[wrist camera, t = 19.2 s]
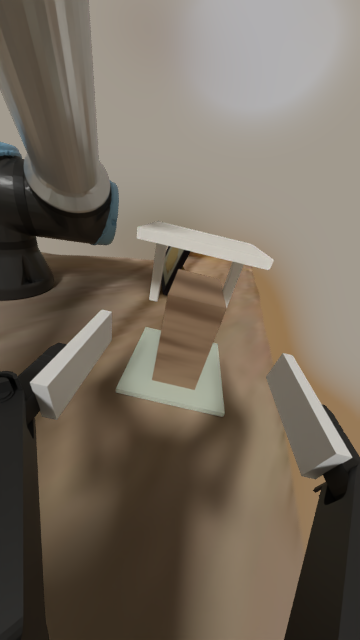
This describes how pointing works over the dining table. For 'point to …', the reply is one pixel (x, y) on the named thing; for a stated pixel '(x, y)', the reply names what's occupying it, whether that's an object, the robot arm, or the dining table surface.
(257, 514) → the dining table surface
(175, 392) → the mat
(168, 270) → the picture frame
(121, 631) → the dining table surface
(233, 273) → the small white table
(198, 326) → the walnut block
